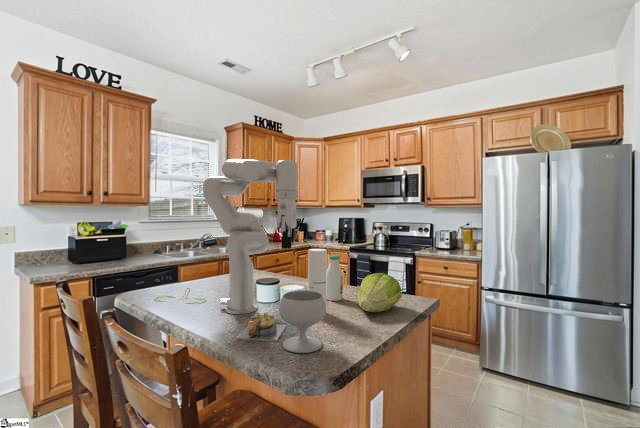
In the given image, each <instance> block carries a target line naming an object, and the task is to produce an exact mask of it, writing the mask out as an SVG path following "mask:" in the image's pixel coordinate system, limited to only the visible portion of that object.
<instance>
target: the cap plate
mask: <svg viewBox="0 0 640 428" xmlns="http://www.w3.org/2000/svg"><path fill="white" fill-rule="evenodd" d="M286 328H287V324H277V323H275V322H274V326H272V327H270V328H266V329H260V330H259V331H258V332H257V333H256V334H255V335H254V336H249V335H248V325H247V326H246V327H245V328H244V329H243V330H242V331H241V332H240V333H239V334H238V335H237V336H236V337H235V340H240V339H244V340H245V341H259V342H261V341H262V342H276V343H277V342H278V340H279V339H280V338H281V335H283V333H284V331H285V330H286Z"/></svg>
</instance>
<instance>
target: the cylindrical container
mask: <svg viewBox="0 0 640 428" xmlns="http://www.w3.org/2000/svg"><path fill="white" fill-rule="evenodd" d="M307 252H308V254H307V255H308V260H307V261H308V262H307V264H308V267H307V268H308V269H307V270H308V271H307V273H308V274H307V283H308V284H307V291H314V292H318V293H320V294H322V296H323V298H324V301H325V304H326V305H327V299H326V272H327V252H328V251H327V249H325V248H311V249H310V248H309V249H308V250H307Z"/></svg>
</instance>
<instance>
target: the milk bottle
mask: <svg viewBox="0 0 640 428" xmlns="http://www.w3.org/2000/svg"><path fill="white" fill-rule="evenodd" d="M343 278H344V277H343V270H342V267H341V266H340V255H339V254H334V255H333V254H331V255H329V264H328V267H327V268H326V301H327V300H328V301H332V302H334V301H335V302H337V301H341V300H343V298H344V297H343V293H344V292H343V291H344V290H343V285H344V283H343Z"/></svg>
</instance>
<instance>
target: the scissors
mask: <svg viewBox="0 0 640 428" xmlns="http://www.w3.org/2000/svg"><path fill="white" fill-rule="evenodd" d="M187 291H188V293H187ZM190 291H191V289H190V288H189V287H187V288H186V289H185V291H184V293H183V296H182V297H181V299H179V298H178V297H177V296H172V295H165V294H163V295H157V296H155V297H153V299H154V301H158V302H167V300H161V299H157V298H159V297H169V298H175V299H176V300H177V301H178V300H179V301H180V300H181V301H183V302H182V303H183V304H186V302H184V300H187V298H188V296H189V294H190V293H191V292H190ZM185 295H186V297H185ZM184 297H185V299H183V298H184ZM193 300H200V301H195V302H193V301H192V302H190V304H198V303H202V302H206V301H207V300H208V299H207V297H206V298H205V297H203V298H202V297H199V298H198V297H197V298H196V297H195V298H193Z"/></svg>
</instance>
